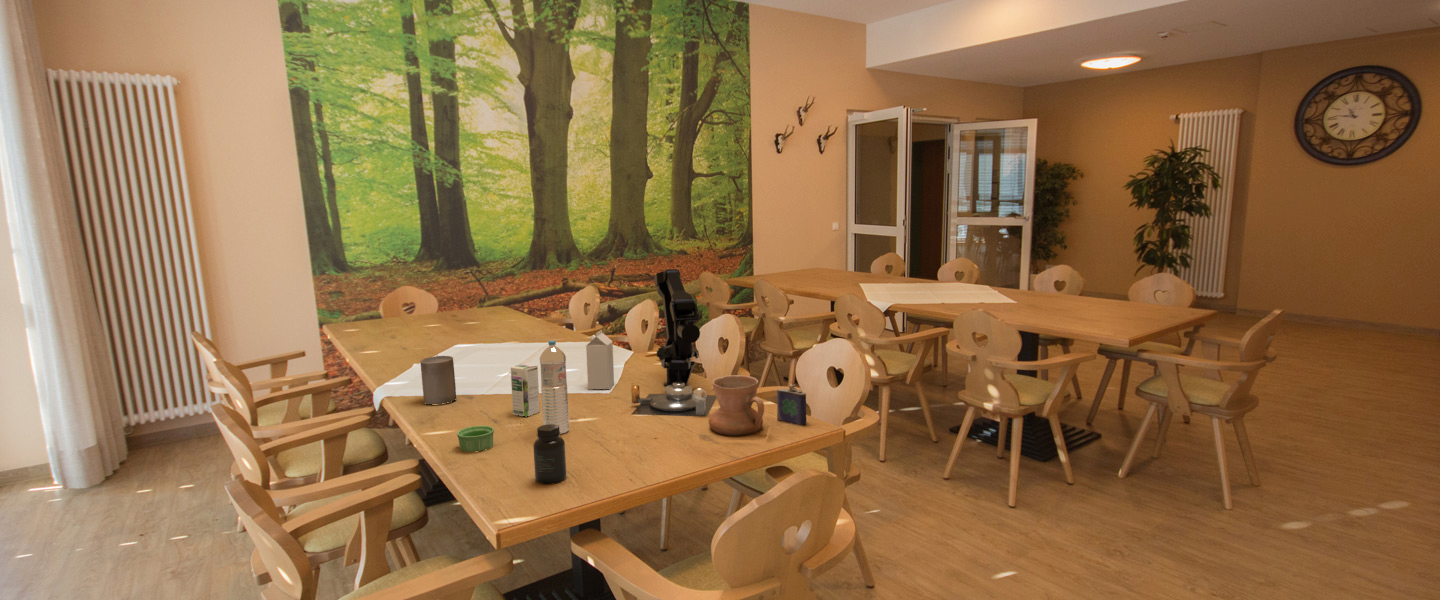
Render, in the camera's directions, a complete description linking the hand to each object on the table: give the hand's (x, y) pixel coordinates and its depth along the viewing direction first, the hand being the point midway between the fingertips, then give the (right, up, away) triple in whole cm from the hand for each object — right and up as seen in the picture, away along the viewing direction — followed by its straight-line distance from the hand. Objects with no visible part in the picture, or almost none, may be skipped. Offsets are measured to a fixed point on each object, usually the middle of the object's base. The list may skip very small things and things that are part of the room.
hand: (684, 385), depth 227 cm
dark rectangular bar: (+6, -6, -23) cm, 24 cm away
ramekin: (-51, -11, -44) cm, 68 cm away
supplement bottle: (-27, -13, -66) cm, 73 cm away
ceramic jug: (+16, -9, -36) cm, 40 cm away
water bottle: (-33, -9, -33) cm, 48 cm away
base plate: (-2, -5, -13) cm, 14 cm away
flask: (+31, -7, -28) cm, 43 cm away
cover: (-1, -2, -9) cm, 9 cm away
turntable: (-5, -4, -12) cm, 14 cm away
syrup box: (-46, -7, -16) cm, 49 cm away
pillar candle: (-77, -5, -2) cm, 77 cm away
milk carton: (-29, -2, +12) cm, 31 cm away
